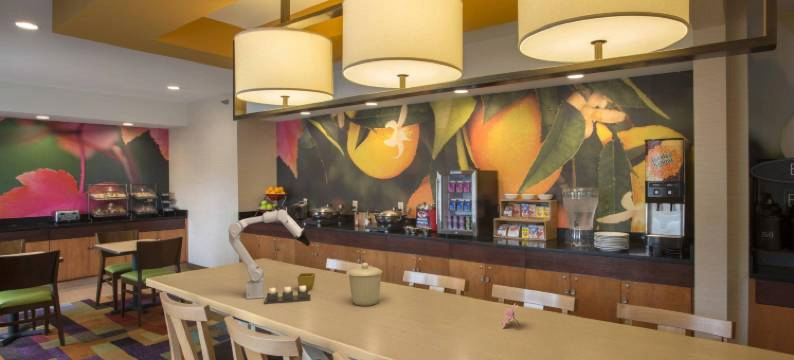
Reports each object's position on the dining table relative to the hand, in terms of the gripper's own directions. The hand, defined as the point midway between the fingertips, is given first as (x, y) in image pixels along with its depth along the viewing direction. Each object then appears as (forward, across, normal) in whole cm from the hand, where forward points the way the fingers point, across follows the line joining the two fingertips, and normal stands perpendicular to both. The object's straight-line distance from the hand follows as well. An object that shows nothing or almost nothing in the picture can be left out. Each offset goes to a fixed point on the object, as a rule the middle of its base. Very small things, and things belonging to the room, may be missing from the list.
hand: (309, 244), depth 258 cm
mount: (+14, -8, +27) cm, 32 cm away
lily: (+80, -77, -44) cm, 119 cm away
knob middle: (+11, -9, +25) cm, 29 cm away
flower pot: (+20, +12, +20) cm, 30 cm away
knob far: (+17, -8, +19) cm, 27 cm away
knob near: (+6, -9, +31) cm, 33 cm away
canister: (+41, -26, -3) cm, 48 cm away
